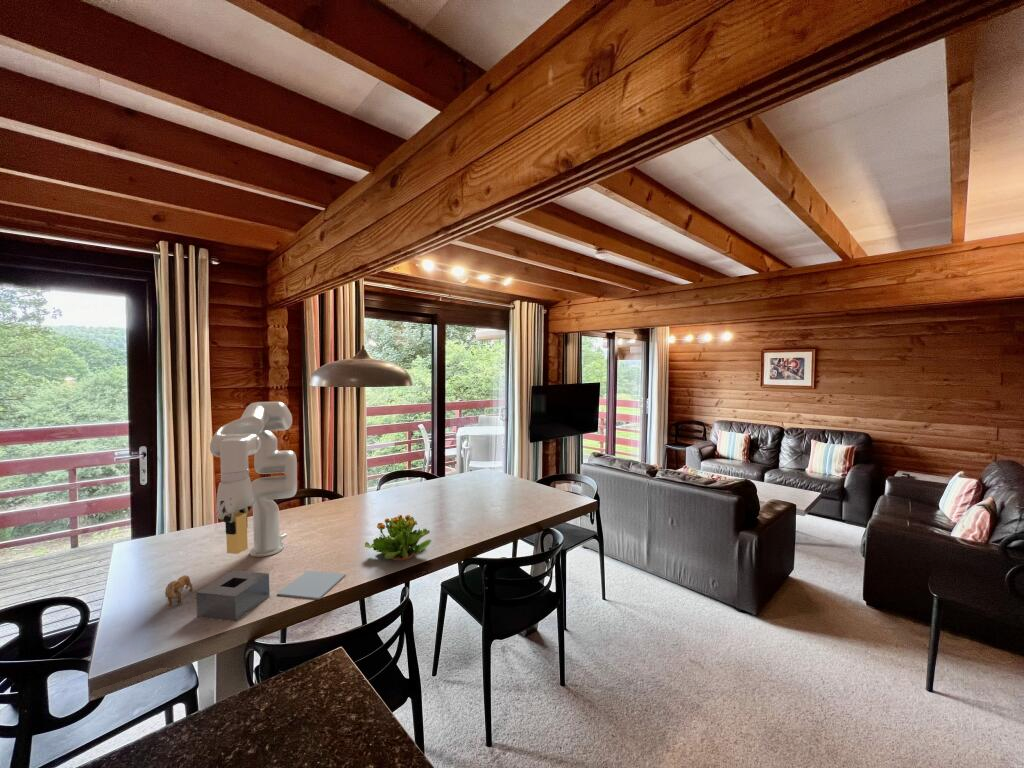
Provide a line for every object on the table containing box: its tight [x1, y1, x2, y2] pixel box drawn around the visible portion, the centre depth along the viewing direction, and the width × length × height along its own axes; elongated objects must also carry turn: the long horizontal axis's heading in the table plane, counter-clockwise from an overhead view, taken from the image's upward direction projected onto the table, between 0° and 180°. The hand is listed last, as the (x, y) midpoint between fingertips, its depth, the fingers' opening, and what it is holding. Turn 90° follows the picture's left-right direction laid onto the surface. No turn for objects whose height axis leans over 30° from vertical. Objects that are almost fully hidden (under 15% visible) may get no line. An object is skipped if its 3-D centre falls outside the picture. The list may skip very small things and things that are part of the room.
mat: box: [276, 570, 347, 600], centre depth 148 cm, size 16×16×1 cm
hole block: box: [195, 569, 270, 622], centre depth 135 cm, size 14×14×8 cm
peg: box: [225, 511, 249, 555], centre depth 135 cm, size 4×4×12 cm
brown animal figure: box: [164, 575, 194, 608], centre depth 139 cm, size 15×5×9 cm, turn 26°
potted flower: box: [364, 514, 432, 562], centre depth 171 cm, size 25×24×18 cm
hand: (236, 530), depth 135 cm, fingers closed on peg, 4 cm apart
